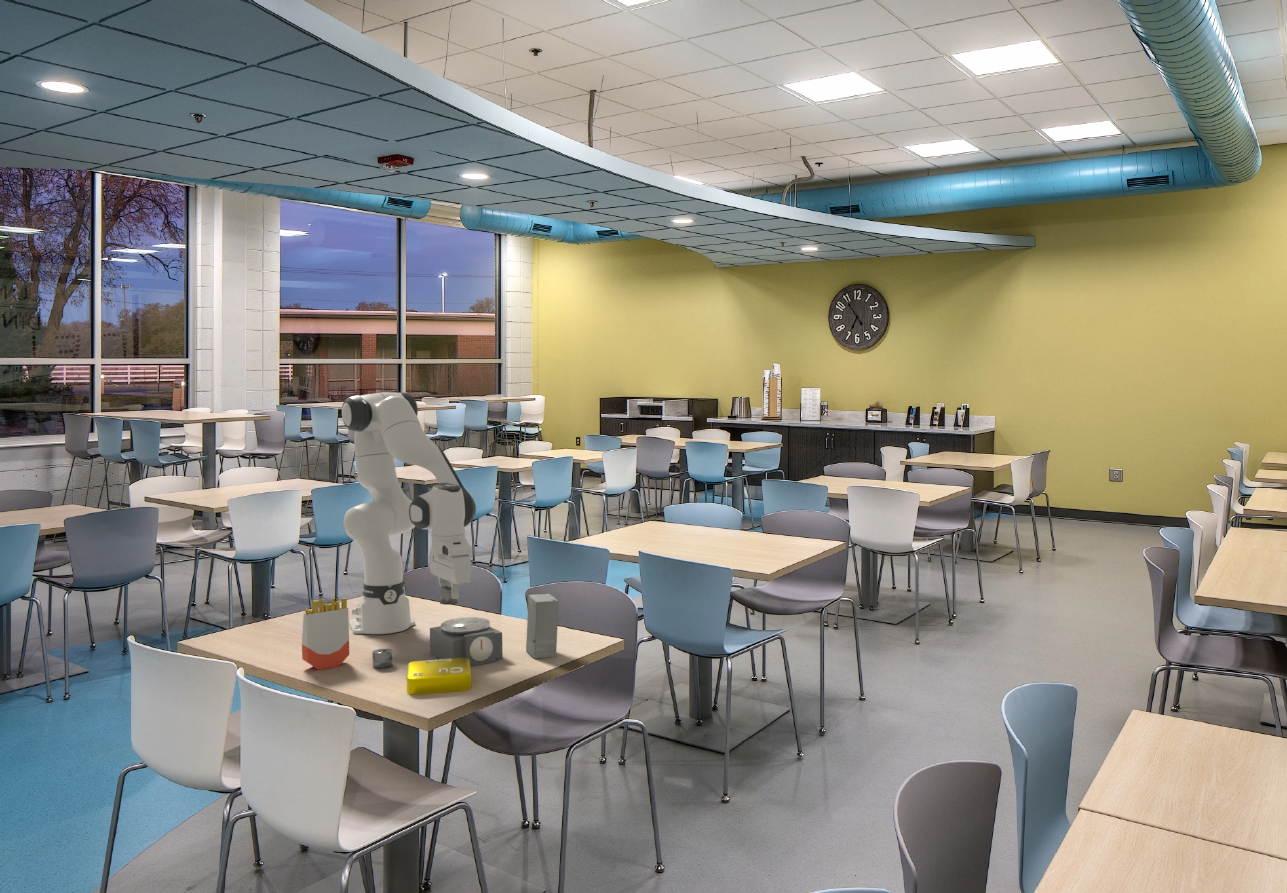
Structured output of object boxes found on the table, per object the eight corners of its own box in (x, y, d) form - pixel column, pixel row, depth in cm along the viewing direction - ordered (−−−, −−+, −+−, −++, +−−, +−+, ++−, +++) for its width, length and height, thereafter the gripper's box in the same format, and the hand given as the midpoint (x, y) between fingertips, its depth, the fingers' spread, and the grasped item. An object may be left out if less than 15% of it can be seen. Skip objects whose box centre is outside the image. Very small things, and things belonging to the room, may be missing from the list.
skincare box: (525, 651, 245) (524, 594, 244) (550, 648, 248) (549, 592, 247) (534, 660, 237) (533, 601, 236) (559, 656, 240) (559, 598, 239)
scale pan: (433, 626, 242) (433, 621, 242) (477, 619, 250) (477, 615, 250) (452, 636, 232) (452, 632, 232) (497, 628, 239) (497, 624, 239)
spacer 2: (436, 601, 238) (436, 586, 238) (454, 599, 241) (454, 584, 241) (443, 605, 234) (443, 590, 234) (461, 603, 237) (461, 587, 237)
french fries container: (302, 668, 231) (300, 599, 230) (343, 660, 238) (341, 593, 237) (308, 672, 228) (306, 602, 227) (349, 663, 235) (348, 596, 234)
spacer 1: (370, 665, 233) (369, 650, 233) (388, 662, 236) (388, 647, 236) (376, 670, 229) (376, 654, 229) (395, 667, 232) (395, 651, 232)
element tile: (469, 673, 227) (468, 654, 227) (471, 692, 213) (471, 672, 212) (408, 678, 224) (408, 659, 223) (406, 697, 209) (406, 677, 209)
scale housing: (430, 653, 244) (429, 624, 243) (477, 644, 252) (477, 616, 251) (456, 669, 229) (456, 638, 228) (506, 660, 237) (505, 630, 236)
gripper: (423, 540, 244) (423, 590, 245) (451, 551, 227) (452, 604, 228) (445, 538, 247) (445, 587, 248) (474, 548, 230) (475, 601, 231)
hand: (449, 596), depth 238 cm, fingers closed on spacer 2, 5 cm apart
